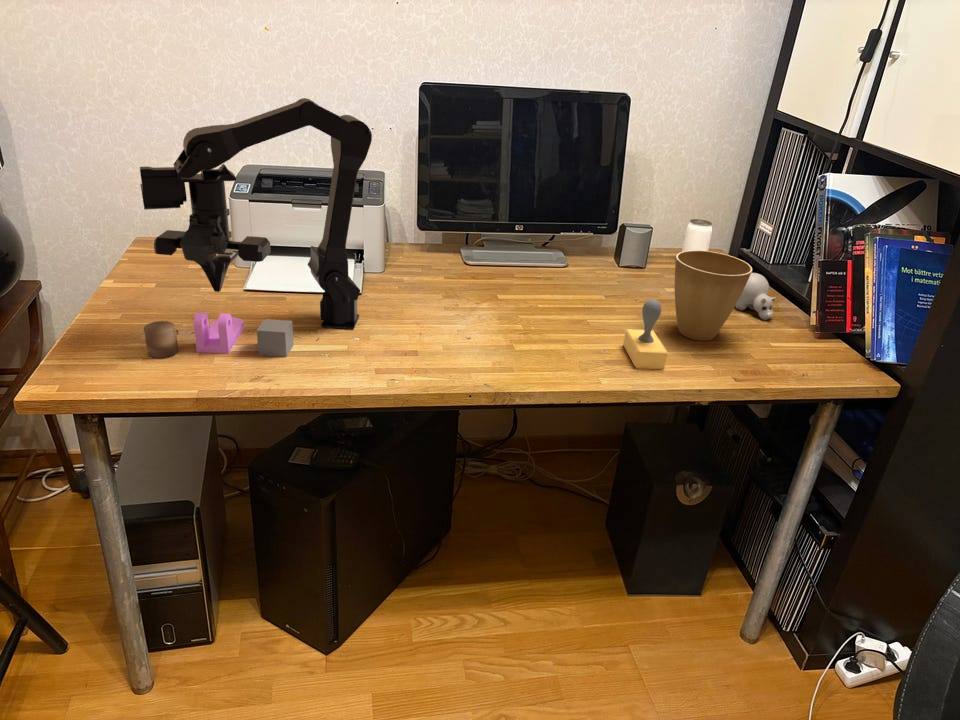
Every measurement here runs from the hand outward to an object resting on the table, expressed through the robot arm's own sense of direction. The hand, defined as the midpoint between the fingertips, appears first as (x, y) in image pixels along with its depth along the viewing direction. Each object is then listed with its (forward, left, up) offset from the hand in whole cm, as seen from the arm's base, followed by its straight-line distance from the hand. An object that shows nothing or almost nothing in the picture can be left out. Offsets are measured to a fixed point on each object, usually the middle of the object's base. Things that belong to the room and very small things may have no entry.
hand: (217, 291), depth 128 cm
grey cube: (-11, +4, -9) cm, 15 cm away
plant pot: (-94, -17, -9) cm, 96 cm away
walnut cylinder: (+8, +8, -9) cm, 14 cm away
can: (-104, -62, -9) cm, 122 cm away
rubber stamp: (-80, -4, -10) cm, 81 cm away
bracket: (0, 0, -10) cm, 10 cm away
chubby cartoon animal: (-110, -32, -9) cm, 115 cm away
